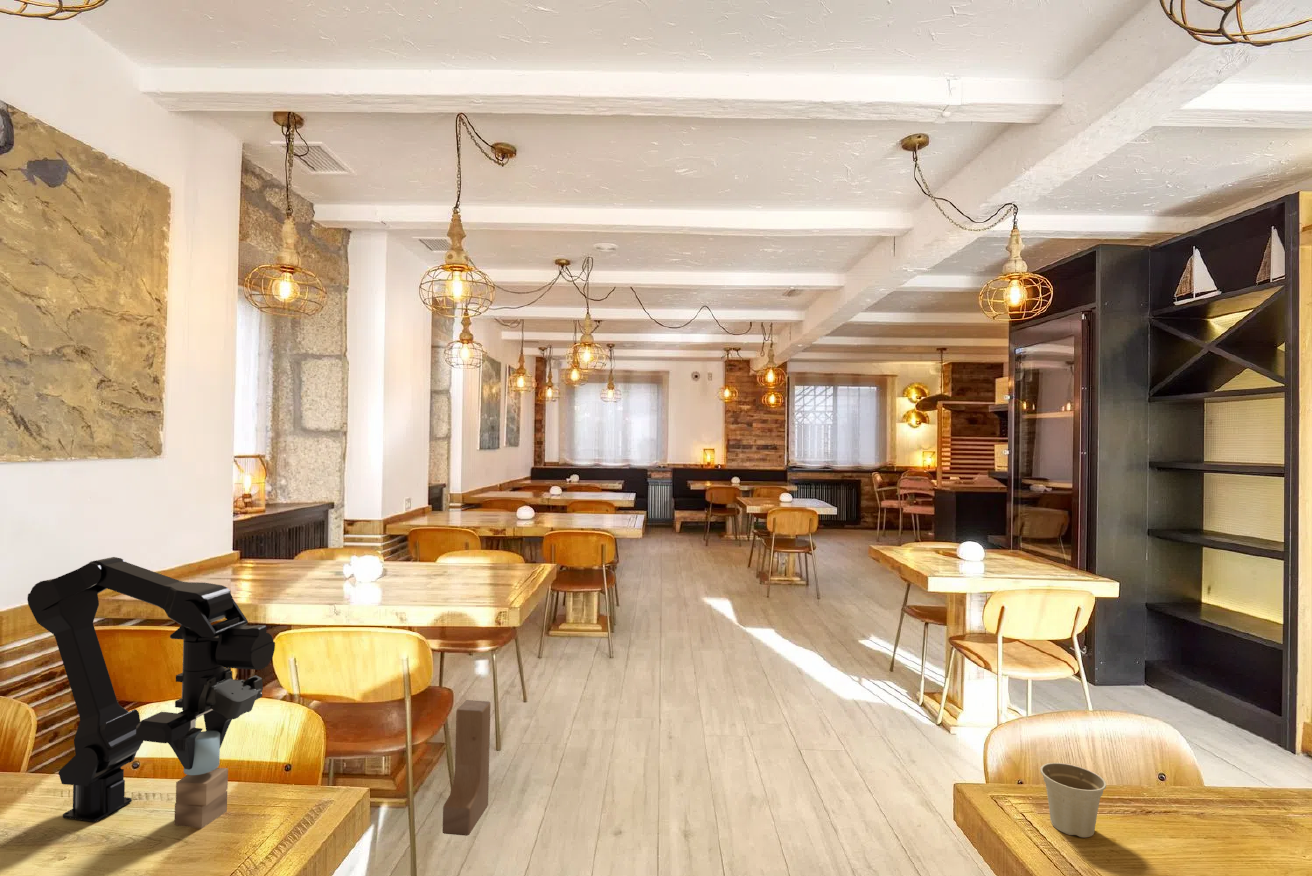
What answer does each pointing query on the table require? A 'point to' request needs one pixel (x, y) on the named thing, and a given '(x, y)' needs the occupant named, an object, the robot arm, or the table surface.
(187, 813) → the lower block
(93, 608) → the robot arm
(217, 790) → the upper block
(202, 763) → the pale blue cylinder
